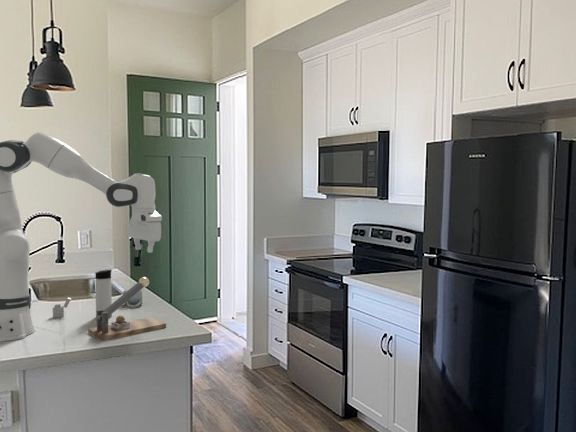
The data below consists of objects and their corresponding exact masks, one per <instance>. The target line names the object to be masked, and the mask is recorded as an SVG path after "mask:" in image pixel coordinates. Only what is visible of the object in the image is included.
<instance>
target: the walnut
mask: <svg viewBox="0 0 576 432" xmlns="http://www.w3.org/2000/svg"><path fill="white" fill-rule="evenodd" d="M115 319H116V320H115V321H116V322H117V323H118V324H122V323H124V321H126V317H124V316H123V315H118V316H117V317H116V318H115Z"/></svg>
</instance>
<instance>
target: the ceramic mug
mask: <svg viewBox="0 0 576 432" xmlns="http://www.w3.org/2000/svg"><path fill="white" fill-rule="evenodd" d="M129 289H130V288H127V289H124V290H123V294H125V293H126V292H127V291H128V290H129ZM142 289H143V288H142ZM142 289H141V290H140V291H138V292H137V293H136V294H135V295H134V296H133V297H131V298H130V299H129V300H128V301H127V302H125V303H124V304H123V305H125V306H127V307H129V308H131V309H135V308H137V307H139V306H140V305H143V292H142ZM123 294H122V295H123Z"/></svg>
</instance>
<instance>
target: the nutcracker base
mask: <svg viewBox="0 0 576 432" xmlns="http://www.w3.org/2000/svg"><path fill="white" fill-rule="evenodd" d="M102 312H103V310H97V316H98V315H99V314H100V313H101V314H102V322H101V321H99V320H98V318H96V327H93V328H88V330H87V332H88V334H89V335H90V336H92V337H94V338H96V339H97V340H99V341H107V340H112V339H117V338H121V337H125V336H131V335H135V334H140V333H145V332H149V331H156V330H159V329H163V328H167V323H166V322H164V321H162V320H159V319H157V318H154V317H152V316H151V317H146V318H140V319H135V320H130V321H128V320H125V321H124V323H122V324H118V323H117V322H116V320H115V321H112V322H111V324H110V325H109V318H108V312H103V313H102Z"/></svg>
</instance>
